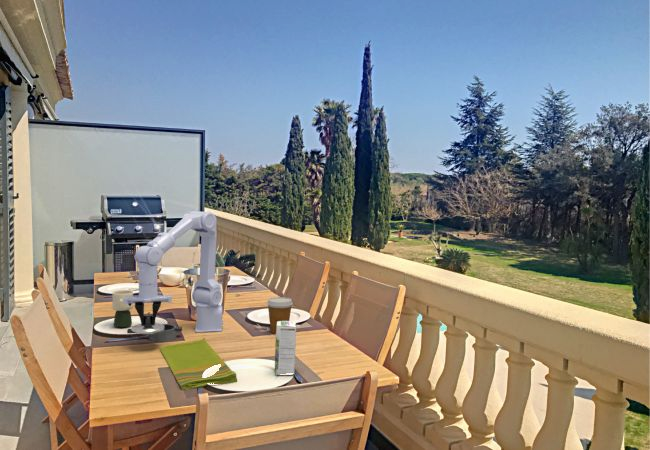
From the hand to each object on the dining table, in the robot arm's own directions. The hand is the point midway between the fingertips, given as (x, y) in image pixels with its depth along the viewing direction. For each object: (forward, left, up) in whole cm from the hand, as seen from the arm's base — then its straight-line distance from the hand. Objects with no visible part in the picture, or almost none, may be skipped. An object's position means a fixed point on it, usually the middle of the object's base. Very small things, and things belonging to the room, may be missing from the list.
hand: (148, 324), depth 167 cm
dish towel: (-15, +18, -9) cm, 25 cm away
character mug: (+11, -27, -8) cm, 30 cm away
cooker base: (-1, -11, -8) cm, 13 cm away
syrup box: (-40, +29, -8) cm, 50 cm away
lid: (0, 0, -2) cm, 2 cm away
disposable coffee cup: (-45, -12, -8) cm, 47 cm away
